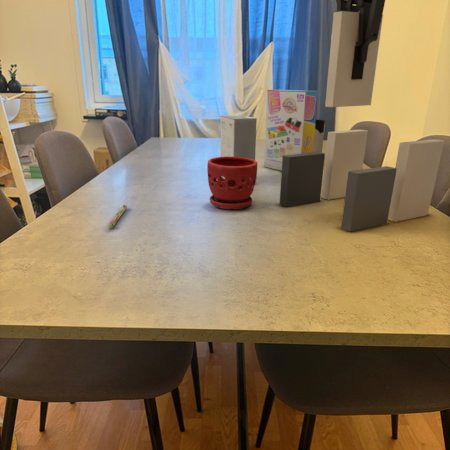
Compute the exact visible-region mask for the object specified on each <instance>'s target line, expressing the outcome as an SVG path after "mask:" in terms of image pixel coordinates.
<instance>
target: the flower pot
mask: <svg viewBox="0 0 450 450" xmlns="http://www.w3.org/2000/svg"><path fill="white" fill-rule="evenodd" d="M206 168H207V184H208V187H209V191H210V192H211V194H212V195H211V196H209V202H210V203H211V205H213V206H214V207H216V208H218V209H219V208H220V209H223V210H240V209H244V208H245V209H246V208H247V207H249V206H250V205H251V204H252V203H253V198H252V194H253V192H254V189H255V186H256V182H257V176H258V161H256V159H255V160H253V159H249V158H244V157H230V156H225V157H221V156H216V157H212V158H210V159H208V160H207V167H206ZM222 176H223V177H224V178H225V179H224V178H223V177H222ZM250 178H251V179H250Z"/></svg>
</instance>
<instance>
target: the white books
mask: <svg viewBox="0 0 450 450" xmlns="http://www.w3.org/2000/svg"><path fill="white" fill-rule="evenodd" d="M368 133H369V130H366V129H350V130H349V129H348V130H336V131H328V132H327V139H326V149H325V158H324V168H323V177H322V187H321V196H320V199H324V200H327V201H331V200H335V199H336V200H337V199H342V198H345V194H346V187H347V179H348V171H354V170H362V169H364V160H365V153H366V147H367V146H366V145H367V139H368ZM444 144H445V140H442V139H436V138H435V139H434V138H432V139H422V140H411V141H402V142H399V145H398V150H397V156H396V161H395V166H394V168H397V171H396V176H395V182H394V187H393V193H392V198H391V204H390V209H389V215H388V220H387V221H392V222H394V223H398V222H401V221H407V220H411V219H416V218H421V217H426V216H428V215H429V212H430V207H431V203H432V198H433V193H434V189H435V185H436V180H437V177H438V172H439V168H440V162H441V158H442V155H443V150H444Z"/></svg>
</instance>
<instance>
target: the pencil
mask: <svg viewBox="0 0 450 450" xmlns="http://www.w3.org/2000/svg"><path fill="white" fill-rule="evenodd" d="M127 208H128V205H126V204H122V206H121V208H120V209H119V210H118V212H117V213H116V214H115V216H114V217H113V218H112V219H111V221H110V223H109V224H108V229H113V228H114V226H115V225H116V224H117V222H118V221H119V220H120V218H121V217H122V216H123V214H124V212H125V211H126V210H127Z"/></svg>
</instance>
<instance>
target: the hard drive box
mask: <svg viewBox="0 0 450 450" xmlns="http://www.w3.org/2000/svg"><path fill="white" fill-rule="evenodd" d="M257 120H258V118H256V117H252V116H246V115H241V114H240V115H239V114H237V115H235V114H234V115H220V157H225V156H230V157H244V158H249V159H253V160H255V161H256V148H257V147H256V145H257V144H256V143H257ZM221 178H222V179H225V178H224V177H223V176H222V177H221ZM250 179H251V178H250Z"/></svg>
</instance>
